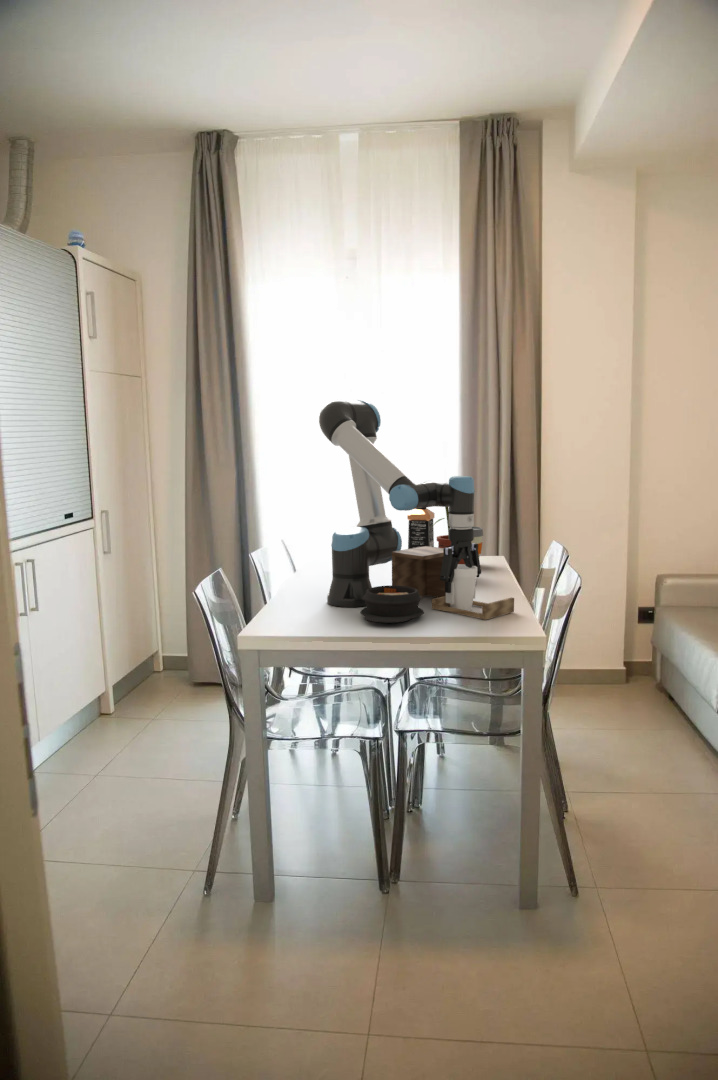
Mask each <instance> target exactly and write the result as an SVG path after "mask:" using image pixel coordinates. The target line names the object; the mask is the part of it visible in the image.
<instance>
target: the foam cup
mask: <svg viewBox="0 0 718 1080" xmlns="http://www.w3.org/2000/svg"><path fill="white" fill-rule="evenodd" d="M476 576H477V567H476V566H472V568H469V567H467V566H466V565H464V564H458V566H457V569H454V578H453V581H452V582H454V604H450V606H449V607H452V608H457V609H462V610H467V611H472V610H473V605H472V604H473V601H474V599H473V597H474V590H475V583H476V584H477V577H476Z"/></svg>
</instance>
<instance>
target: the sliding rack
mask: <svg viewBox="0 0 718 1080" xmlns="http://www.w3.org/2000/svg"><path fill="white" fill-rule="evenodd" d="M472 606H475V607H481V609H482V611H481V613H480V612H476V611H472V610H470V611H467V610H462V609H457V608H452V607H450V603H446V596H443V597H439V598H437V597H433V598H432V599H431V610H438V611H442V612H447V613H453V614H458V615H463V616H467V617H472V618H476V619H481V620H484V621H485V620H489V619H493V618H496V617H500V616H504V615H507V614H511V613H515V597H508V598H504V599H500V600H497V601H493V602H483V601H482V602H481V601H477V600H473V604H472Z"/></svg>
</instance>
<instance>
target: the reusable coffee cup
mask: <svg viewBox="0 0 718 1080" xmlns="http://www.w3.org/2000/svg"><path fill="white" fill-rule="evenodd" d="M472 528H473V529H474V540H473V541H472V542H471V543H475V544H478V555H479V557H480V555H481V554H482V548H483V537H484V530H483V527H479V526H473V527H472Z"/></svg>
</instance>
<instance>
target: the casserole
mask: <svg viewBox="0 0 718 1080" xmlns="http://www.w3.org/2000/svg"><path fill="white" fill-rule="evenodd" d="M363 599H364V600H365V602H366V606H365V607H364V608H362V609H361V610H360V614H361V615H362V616H363V618H364V620H366V621H368V622H373V623H383V624H384V623H385V624H386V623H387V624H389V623H390V624H392V623H393V624H396V623H397V624H398V623H404V622H408V621H410V620H413V619H416V618H419V617H421V616H422V615H424V614H425V611H424V610H423V609H422V608H421V607H419V603H420V601H421V599H422V597H421V596H420V595H419V593H418V590H417V589H415V588H412V587H407V586H393V585H392V584H391V585H380V586H378V585H377V586H373V587H372V588H370V589H368V590H367V591H366V594H365V595H364V597H363Z"/></svg>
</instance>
